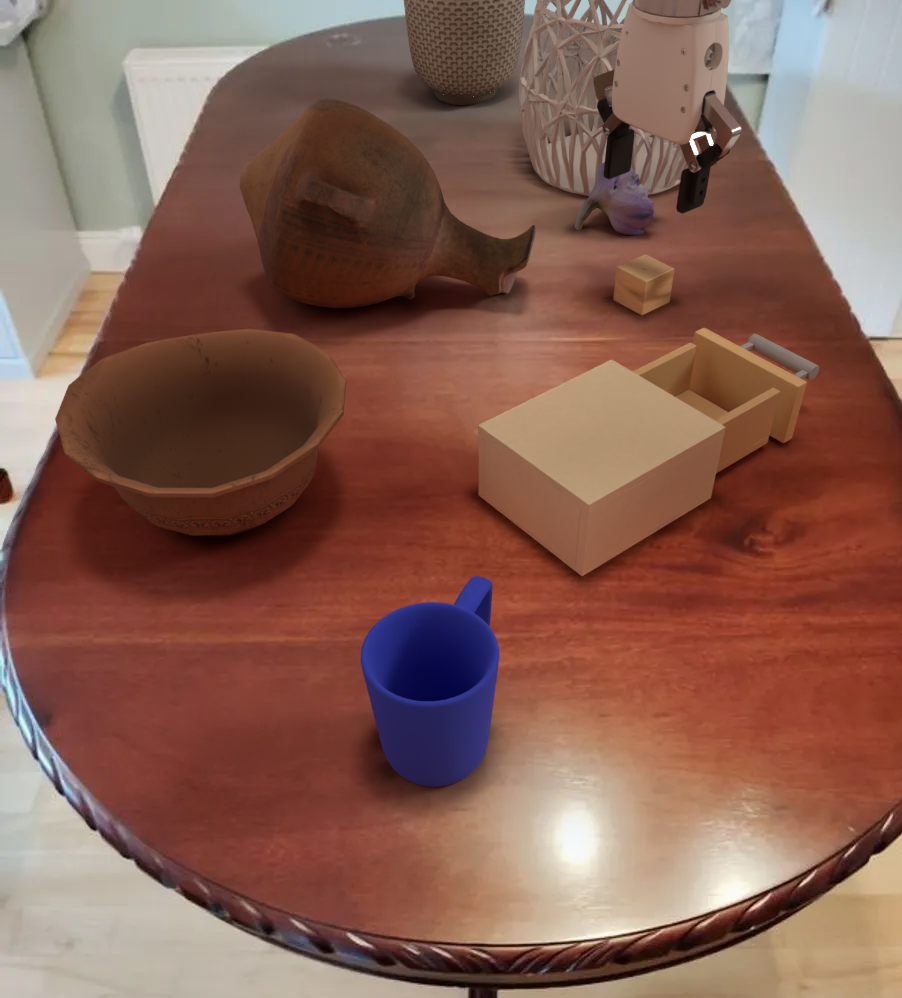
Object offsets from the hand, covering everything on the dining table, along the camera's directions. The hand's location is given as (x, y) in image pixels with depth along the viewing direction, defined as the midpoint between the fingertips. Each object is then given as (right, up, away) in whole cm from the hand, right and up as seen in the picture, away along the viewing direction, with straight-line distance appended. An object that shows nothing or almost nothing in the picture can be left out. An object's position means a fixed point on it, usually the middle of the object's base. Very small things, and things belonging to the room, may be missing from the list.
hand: (652, 191), depth 97 cm
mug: (-20, -49, -30) cm, 60 cm away
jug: (-26, -7, +11) cm, 29 cm away
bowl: (-38, -32, -13) cm, 51 cm away
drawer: (+3, -24, -8) cm, 26 cm away
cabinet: (-8, -31, -14) cm, 35 cm away
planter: (-17, +35, +52) cm, 65 cm away
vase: (+1, +16, +33) cm, 37 cm away
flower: (0, +4, +21) cm, 21 cm away
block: (0, -9, +8) cm, 12 cm away
